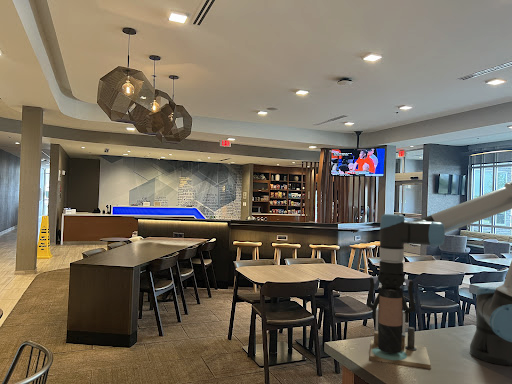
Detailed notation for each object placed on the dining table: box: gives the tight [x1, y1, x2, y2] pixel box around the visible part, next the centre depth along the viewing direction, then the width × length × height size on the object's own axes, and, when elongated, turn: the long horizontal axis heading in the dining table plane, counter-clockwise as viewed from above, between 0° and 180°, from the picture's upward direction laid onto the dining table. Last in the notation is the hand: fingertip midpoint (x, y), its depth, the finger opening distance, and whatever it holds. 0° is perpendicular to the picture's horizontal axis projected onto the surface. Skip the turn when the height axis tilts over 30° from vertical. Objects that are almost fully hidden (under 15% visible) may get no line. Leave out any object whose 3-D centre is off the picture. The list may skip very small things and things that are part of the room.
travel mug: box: [377, 286, 404, 353], centre depth 131 cm, size 8×8×20 cm
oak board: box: [369, 326, 432, 370], centre depth 132 cm, size 18×16×8 cm
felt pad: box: [372, 347, 407, 360], centre depth 130 cm, size 11×11×1 cm
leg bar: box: [373, 330, 406, 348], centre depth 137 cm, size 10×3×4 cm, turn 69°
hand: (390, 330), depth 130 cm, fingers closed on travel mug, 8 cm apart
